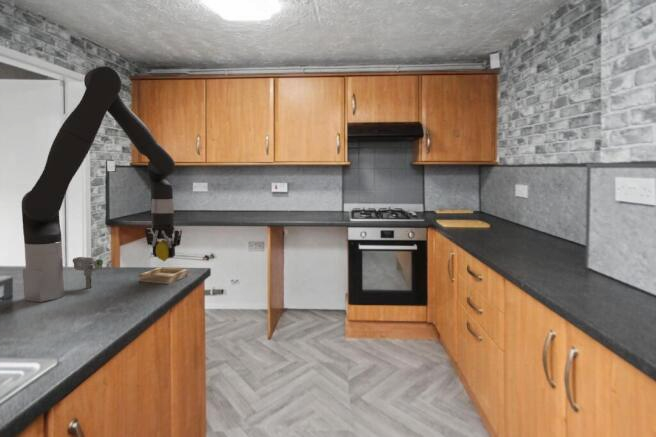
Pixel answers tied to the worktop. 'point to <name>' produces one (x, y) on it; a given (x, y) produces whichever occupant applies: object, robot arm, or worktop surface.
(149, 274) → the tray
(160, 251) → the lemon
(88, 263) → the mechanical component
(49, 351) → the worktop surface
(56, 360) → the worktop surface
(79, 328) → the worktop surface
